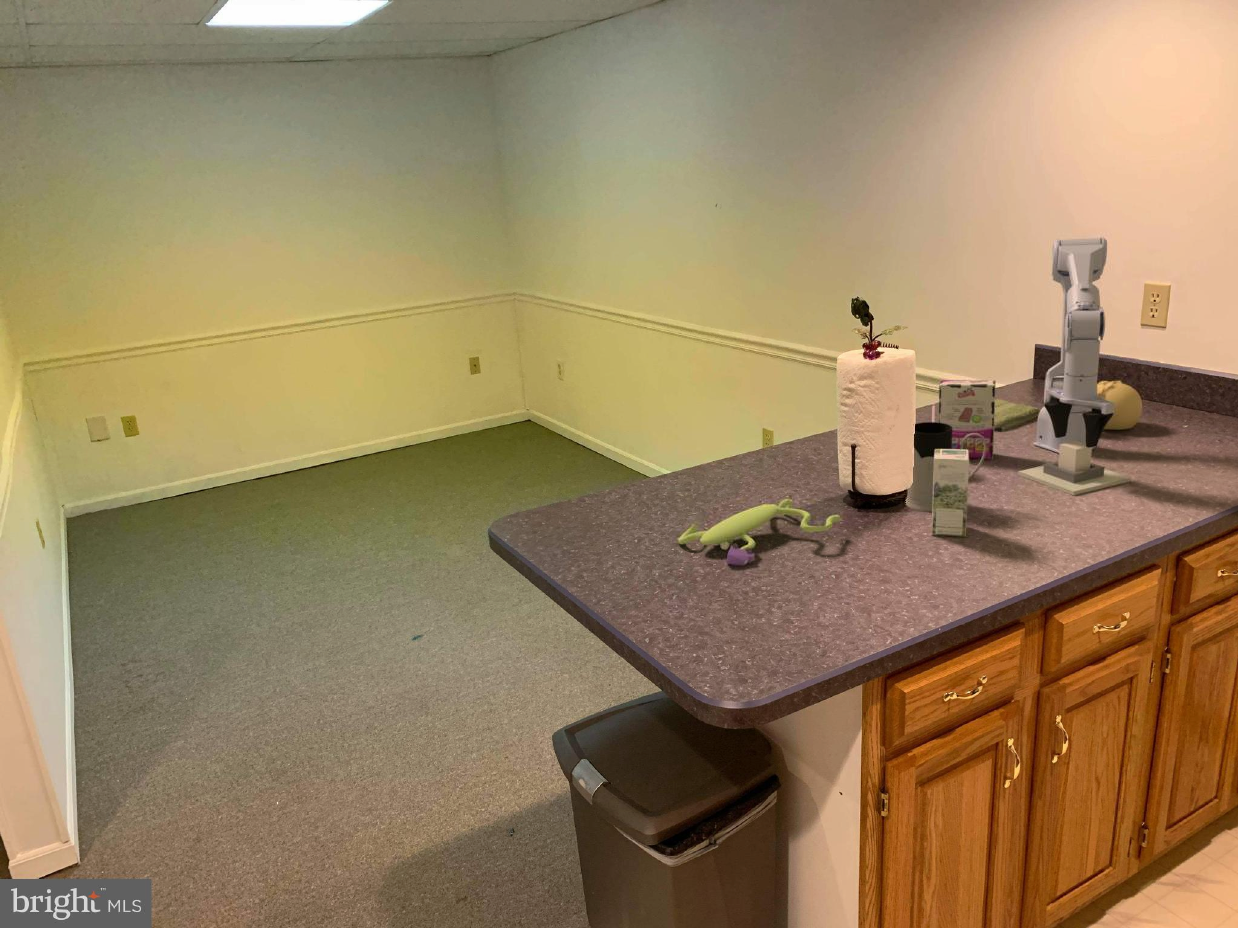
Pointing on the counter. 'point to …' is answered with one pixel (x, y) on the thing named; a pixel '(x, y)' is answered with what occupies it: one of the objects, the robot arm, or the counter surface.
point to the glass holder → (930, 461)
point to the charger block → (1074, 456)
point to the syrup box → (950, 492)
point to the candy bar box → (969, 414)
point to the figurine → (748, 529)
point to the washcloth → (1012, 414)
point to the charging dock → (1074, 478)
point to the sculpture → (1121, 404)
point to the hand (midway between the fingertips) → (1075, 441)
